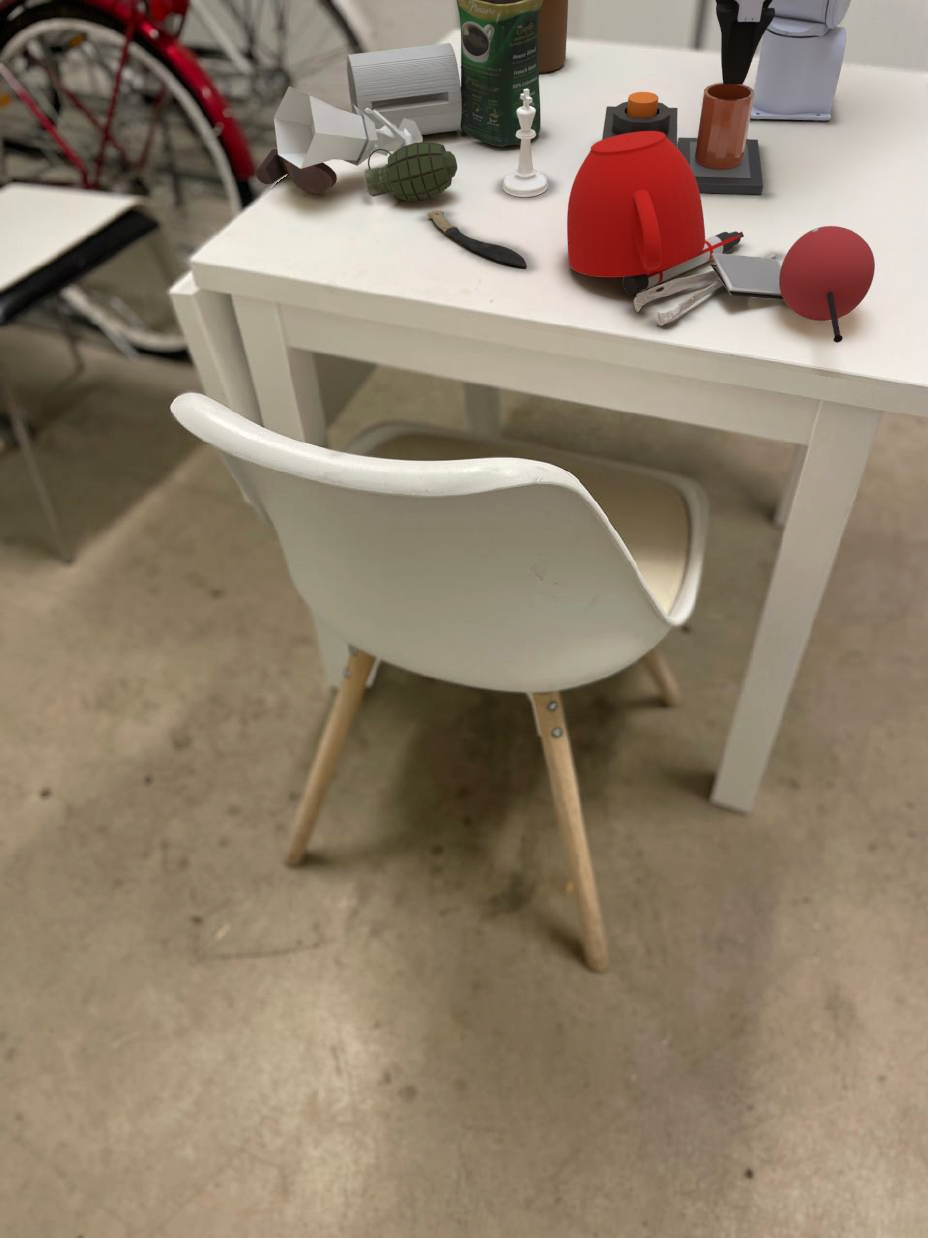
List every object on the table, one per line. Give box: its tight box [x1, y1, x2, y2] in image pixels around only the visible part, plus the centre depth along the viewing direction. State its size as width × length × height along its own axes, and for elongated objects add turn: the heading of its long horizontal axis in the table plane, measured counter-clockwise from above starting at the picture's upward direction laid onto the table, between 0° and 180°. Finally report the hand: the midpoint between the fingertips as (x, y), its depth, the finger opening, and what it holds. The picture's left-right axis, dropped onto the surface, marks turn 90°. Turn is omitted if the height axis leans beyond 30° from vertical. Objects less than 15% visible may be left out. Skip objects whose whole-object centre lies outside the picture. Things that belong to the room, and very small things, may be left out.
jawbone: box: [633, 252, 778, 327], centre depth 89 cm, size 17×5×2 cm, turn 127°
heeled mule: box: [255, 148, 338, 195], centre depth 106 cm, size 4×11×4 cm
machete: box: [427, 210, 527, 268], centre depth 97 cm, size 15×3×1 cm, turn 40°
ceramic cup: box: [566, 131, 706, 278], centre depth 87 cm, size 13×17×10 cm
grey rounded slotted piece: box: [346, 42, 462, 136], centre depth 112 cm, size 9×9×12 cm
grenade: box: [364, 141, 458, 202], centre depth 103 cm, size 6×7×10 cm
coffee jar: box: [455, 0, 543, 147], centre depth 108 cm, size 10×8×19 cm
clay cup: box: [694, 82, 754, 169], centre depth 103 cm, size 5×5×7 cm
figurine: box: [273, 85, 424, 169], centre depth 104 cm, size 7×8×18 cm
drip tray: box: [677, 137, 764, 195], centre depth 106 cm, size 9×12×1 cm
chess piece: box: [502, 89, 548, 198], centre depth 101 cm, size 5×5×10 cm
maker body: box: [601, 101, 678, 147], centre depth 105 cm, size 8×12×6 cm, turn 171°
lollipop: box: [779, 225, 876, 344], centre depth 80 cm, size 8×8×15 cm
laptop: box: [710, 253, 784, 301], centre depth 87 cm, size 7×6×2 cm
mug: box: [538, 0, 569, 74], centre depth 125 cm, size 12×8×9 cm, turn 125°
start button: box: [627, 91, 659, 118], centre depth 102 cm, size 3×3×2 cm
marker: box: [622, 230, 744, 296], centre depth 91 cm, size 15×2×2 cm
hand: (732, 77), depth 99 cm, fingers closed
